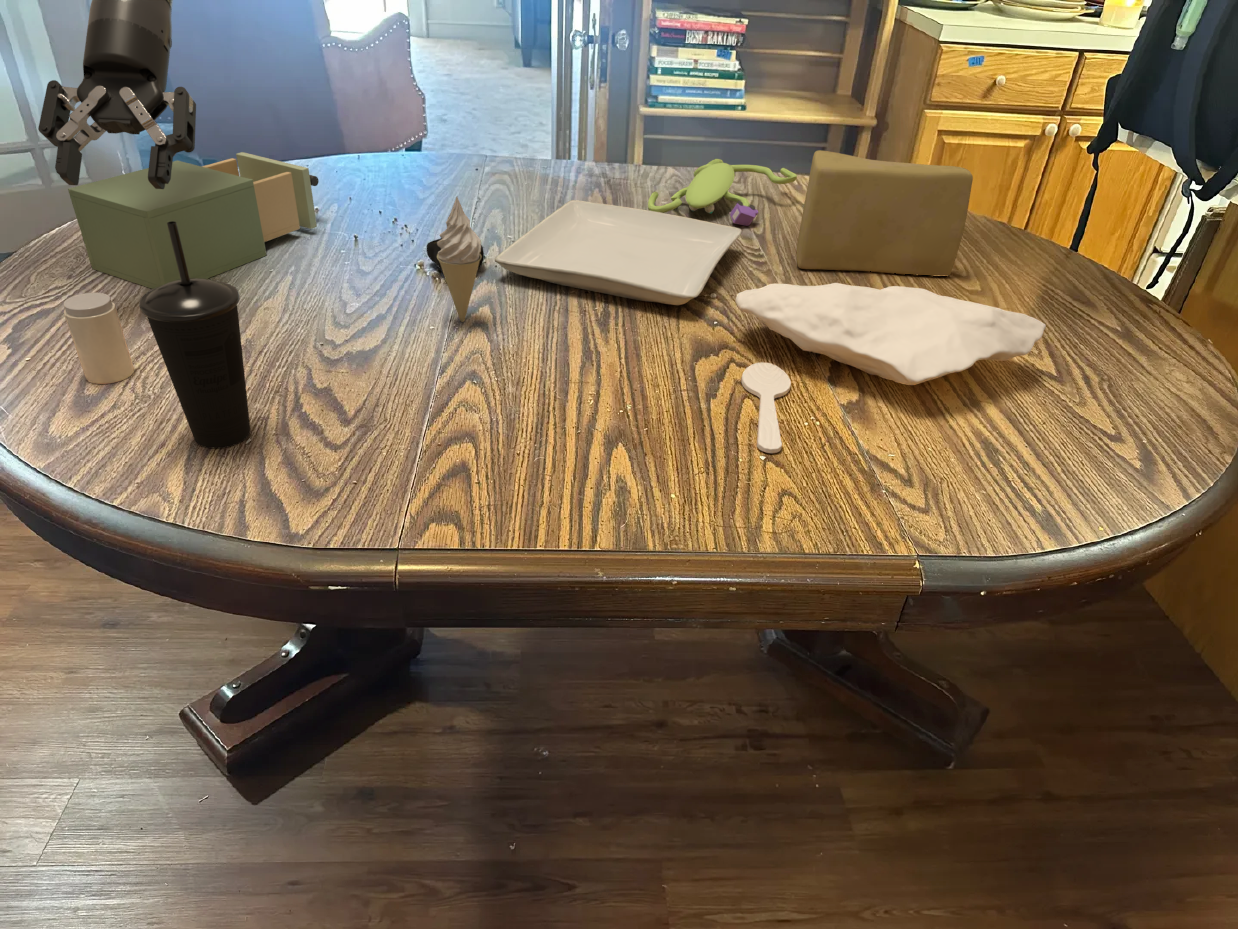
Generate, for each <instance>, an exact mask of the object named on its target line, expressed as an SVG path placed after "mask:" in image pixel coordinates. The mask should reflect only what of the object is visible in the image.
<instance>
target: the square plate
mask: <svg viewBox="0 0 1238 929" xmlns="http://www.w3.org/2000/svg"><path fill="white" fill-rule="evenodd" d="M741 234H742V228H740V227H735V226H730V225H725V224H720V223H715V222H711V221H706V220H701V219H696V218H691V217H687V216H682V215H677V214H676V215H675V214H670V213H667V212H665V213H660V212H654V211H650V210H649V209H642V208H635V207H628V206H621V205H614V204H606V203H599V202H594V201H593V202H592V201H585V200H577V199H571V200H569V201H567V202H566V203H564V204H563V205H562V206H560V207H558V208H557V209H556V210H554V211H553V212H552V213H550V214H549V215H548V216H546V217H545V218H544V219H543V220H541V221H540V222H538V223H537V224H536V225H534V226H533V227H532V228H530V230H529V229H528V231H527V232H526V233H524V234H523V235H522V236H520V237H519V238H518V239H516V240H515V241H514V242H513V243H511V244H510V245H509V246H507V247H506V248H505V249H504V250H503V251H501V252H500V253H499V254H498V255H497V256H496V257H495V258H494V262H495V263H496V264H498V265H500V267H502V268H503V269H505V270H507V271H509V272H510V273H513V274H516V275H519V276H523V277H528V278H532V279H536V280H541V281H544V282H547V283H550V284H555V285H559V286H565V287H569V288H574V289H575V288H576V289H580V290H585V291H590V292H595V293H601V294H604V295H605V294H606V295H610V296H614V297H621V298H625V299H630V300H635V301H640V302H648V303H660V304H665V305H672V306H682V305H685V304H687V303H689V301H691V300H693V299H694V298H697V297H698V296H700V294H701V292H703V290H704V287H705V286H706V284H707V282H708V280H709V278H710V276H711V275H712V273H713V272H714V270H715V268H716V266H717V265H718V263H719V261H720V260H721V259H722V258H723V256H724V255H725V254H726V253H727V251H728V250H729V249H730V248H731V247H732V246H733V244H734V243H735V242H736V241H737V240H738V238H740V236H741Z"/></svg>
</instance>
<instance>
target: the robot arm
mask: <svg viewBox="0 0 1238 929" xmlns="http://www.w3.org/2000/svg"><path fill="white" fill-rule="evenodd" d="M173 4H174V0H91V2H90V7H89V14H88V21H87V29H86V36H85V46H84V52H83V59H82V72H83V78H82V81H81V83H80V84H79V85H78V87H70V86H64V85H62V84H61V83H60V82H59V81H58V80H56V79H53V80H50V81H48V83H47V85H46V89H45V94H44V97H43V98H44V99H43V104H42V108H41V113H40V119H39V122H38V127H37V128H38V132H39V133H40V134H41V135H42V136H43V137H44V138H45V139H46V140H48V141H49V142H50V143H51V144H52V145H53V146H54V147H57V148H56V150H57V151H56V157H55V158H56V159H55V163H54V164H55V166H54V169H55V172H56V174H58V175H59V177H60V179H61V180H63V182H65V183H66V184H67V185H68V186H79V182H80V176H81V175H80V174H81V166H82V160H83V153H82V152H81V151H82V150H84V148H85V147H86V146H88V144H89V143H90V142H91V141H97V140H99V139H100V138H101V137H102V136H103V135H104V134H105V133H106V132H107V133H108V134H115V135H116V134H122V133H127V134H130V135H138V136H139V135H140V134H141V133H142V132H144V131H146V133H147V134H148V135H149V137H150V138H151V140H152V142H154V145H151V146H150V153H149V162H148V168H149V170H148V180H149V182H150V183H151V184H152V185H153V187H154V188H155V189H164V188H165V184H168V183H169V181H170V180H171V170H172V162H173V160H174V157H175V156H176V155H177V154H178V153H181V152H185V153H189V154H190V153H192V152H194V151H195V149H196V125H197V124H196V121H197V104H196V101H195V100H194V99H193V97H192V96H191V94H190V93H189V92H188V90H187V89H186V88H185V87H184V86H178V87H176V88H175V89H174V91H166V90H167V82H168V74H169V65H170V56H171V49H172V46H173V39H172V38H173V24H172V12H173ZM77 103H80V104H79V105H78V106H77V107H76V105H77ZM168 107H169V109H170V110H171V112H173V113H172V114H173V116H172V133H170V134H166V133H165V132H164V130H163V129H162V128H161V127H160V125H159V123H158V122H157V121H156V120H157V119H158V118H159V117H160V116H161V115H162V114H163V113H164V112H165V111H166V109H167V108H168ZM89 118H91V119H92V120H93V122H92V123H91V124H89V123H88V119H89Z"/></svg>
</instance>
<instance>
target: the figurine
mask: <svg viewBox="0 0 1238 929" xmlns="http://www.w3.org/2000/svg"><path fill="white" fill-rule="evenodd" d="M735 173H757V174H762V175H765V176H766V177H767V178H768V179H769V181H770V182H771V183H774V184H776V185H786V184H790V183H794V182H796V180H797V179H798V174H796V173H794V172H792V171H791V170H789V169H787V168H786V167H782V168H780V170H779V173H780V174H781V175H783V176H784V177H781V176H778V175H775V173H774V172H773V170H772V169H771V168H769V167H767V166H762V165H755V164H729V163H727V162H724V161H723V160H722V159H720V158H715V159H712V160H711V161H709V162H707V164H703V165H701V166H699V167H698V168H696V170H694V171H693V179H692V180H691V181H690V183H689V185H688V186H686V187H684V188H681V189H680V190H678V191H677V192H675V193H674V194H673V195H672V196H671V197H670V200H671V202H669V203H666V204H663V205H655V204H656V203H655V202H656V201H657V199H658V198H659V193H658V191H652V193H651V195H650V196H649V197H648V200H647V208H648V209H647V210H648V211H654V212H660V213H668V212H671V211H673V210H676V209H677V208H678V207H680V206H681V205H682V204H683V201H682V200H681V198H683V197H684V196H685V201H686V203H687V204H688V207H689V209H690V211H691V212H695V211H697V210H699V209H704V211H705V212H706V213H708V214H711V215H712V214H713V212H715V211H714V210H715V205H714V204H716V203H717V202H719V201H720V200H721V199H722V198H724V199H725V200H728V201H731V202H736V204H735V205H734V206H733V208H732V209H731V211H729V216H730V219H731V220H732V223H733V224H736V225H741V226H745V227H749V226H750V225H751V224H752V222H753V221H754V220H755V218H756V217H757V216H758V215H759V210H758V209H756V206H755V205H754V204H751V203H750V202H749V200H748V198H746V197H743V196H741V195H738V194H734V193H731V192H729V190H730V188H731V186H732V185H733V183H734V181H735V177H736V176H735V175H736V174H735Z"/></svg>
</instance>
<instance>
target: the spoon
mask: <svg viewBox="0 0 1238 929" xmlns="http://www.w3.org/2000/svg"><path fill="white" fill-rule="evenodd" d="M740 378H741V379H740V380H741V381H740V382H741V385H742V386H743V388H744V390H746V391H747V392H748V393H751V394H752V395H754V396H756V397H758V398H759V406H758V409H759V410H758V419H757V420H758V422H757V434H756V435H757V437H756V447H757V449H759V450H760V451H761V452H764V453H767V454H776V453H779V452H780V451H781V450H782V449H783V441H782V439H781V430H780V426H779V421H778V420H779V419H778V414H777V410H776V408H777V407H776V404H775V399H777V398H781V397H784V396H785V395H787V394H788V393H789V392H790V390H791V385H792V382H791V379H790V378H791V377H790V376H789V375H788V373H786V372H785V370H784V369H781V367H779V366H778V365H777V364H776V365H775V364H774V363H771V362H763V361H761V362H759V361H758V362H754V363H752V364H750V365H748V366H746V368H745V369H744V371H743V372H742V375H741V377H740Z"/></svg>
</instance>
